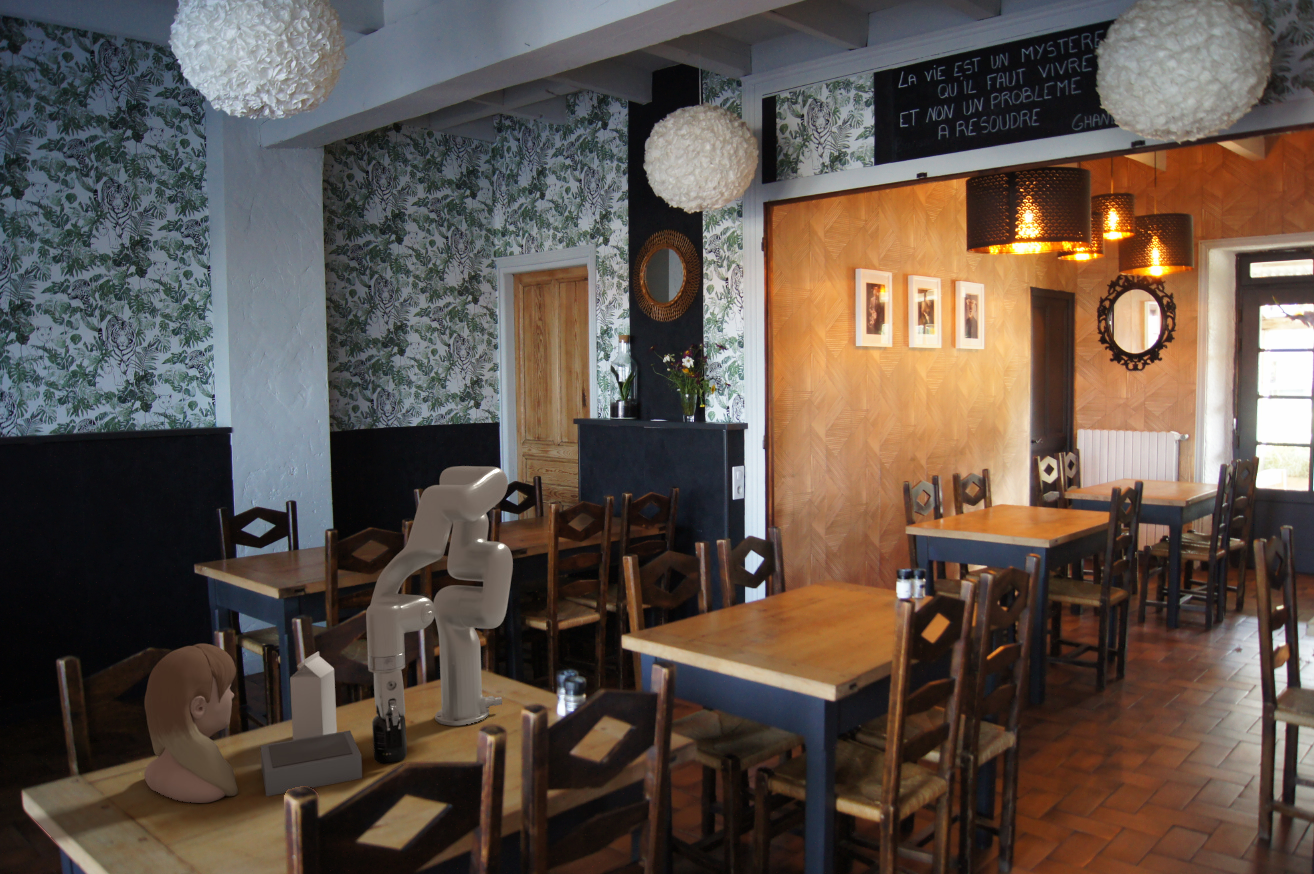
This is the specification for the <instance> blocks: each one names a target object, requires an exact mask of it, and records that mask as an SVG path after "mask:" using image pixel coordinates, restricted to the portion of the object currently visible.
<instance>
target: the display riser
mask: <svg viewBox="0 0 1314 874" xmlns="http://www.w3.org/2000/svg"><path fill="white" fill-rule="evenodd" d="M260 766H261V775H262V779H263V785H264V791H265V796H266V797H271V796H276V795H277V796H278V795H281V794H286V793H285V792H286V791H287V790H288V789H292V788H295V787H300V786H308V787H312V788H318V787H324V786H329V785H333V784H334V785H335V784H339V783H344V782H350V781H354V780H355V781H356V780H360V779H363V763H362V753H361V752H360V748H359V747H358V745H357V742H356V740H355V738H354V736H353V734H352V732H351V730H344V731H337V732H336V733H332V734H326V735H320V736H314V737H308V738H302V739H296V740H293V739H290V740H286V741H279V742H272V743H268V744H263V745H260ZM312 788H311V789H312Z"/></svg>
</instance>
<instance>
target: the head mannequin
mask: <svg viewBox="0 0 1314 874" xmlns="http://www.w3.org/2000/svg"><path fill="white" fill-rule="evenodd" d="M236 674H237V668H236V666H235V661H234V660H233V658H232V656H231V655H230V654H229V653H228V652H227V651H226V650H225V649H223V648H221V647H219V646H216V645H215V644H214V645H213V644H210V643H209V644H208V643H196V644H193V645H186V646H183V647H180V648H177V649H174V650H173V651H170V652H169V653H167V654H166V655H165V656H164V657H162V658H161V659H160V660H159V661H158V662H157V663H156V665H154V667H153V668H152V670H151V671H150V674H149V677H148V681H147V686H146V691H145V695H144V710H145V716H146V721H147V722H146V723H147V727H148V731H149V737H150V740H151V744H152V748H153V752H154V754H155V755H156V756H157V757H156V758H155V759H153V760H151V761H150V762H149V763H148V765H147V766H146V767H145V770H144V775H143V776H144V780H145V782H146V784H147V786H148V787H149V789H151V790H152V791H154V792H155V791H156V792H155V793H157V792H158V793H157V794H159V793H160V794H159V795H161V796H163V795H164V797H166V798H168V797H169V799H171V798H172V799H171V800H174V801H177V800H178V802H182V801H183V803H190V802H191V803H192V804H195V803H196V804H206V803H207V804H208V803H212V802H216V801H218V800H220V799H222V798H224V797H234V796H236V795H237V794H238V792H239V790H238V789H239V788H238V786H237V782H236V776H235V775H236V774H235V771H234V768H233V766H232V765H231V764H230V763H229V762H228V761H227V760H226V759H225V757H224V756H223V754H222V752H221V750H220V748H219V746H218V744H217V743H216V742H215V741H214V740H213V739H211V738H210V737H212V736H213V735H214V734H216V733H217V732H219V731H222V730H225V729H226V728H227V727H228V726H230V722H231V715H232V706H233V705H232V704H233V701H232V700H233V699H234V698H235V694H234V693H233V692H232V690H231V688H232V687H233V685H234V684H233V681H234V679H235V678H236Z"/></svg>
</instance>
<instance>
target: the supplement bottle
mask: <svg viewBox="0 0 1314 874" xmlns="http://www.w3.org/2000/svg"><path fill="white" fill-rule="evenodd" d="M388 704H389V703H388ZM375 708H376V709H375V712H376V716H374V717H373V719H372V721H371V723H372V725H371V727H372V728H371V729H372V744H373V760H374V761H375V762H376V763H377V764H382V765H390V764H395V763H398V762H402V761H403V760H404V759H406V757H407V755H408V747H407V745H408V744H407V726H406V717H405V716H403V717H402V716H400V714H399V718H400V724H401V734H402V747H400V748H395V749H390V750H387V749H386V740H385V730H387V728H386V722H385V719H383V718H381V716H380V713H379V709H378V706H377V704H376V705H375ZM388 715H391V714H388ZM391 720H392V719H391ZM389 723H390V720H389Z"/></svg>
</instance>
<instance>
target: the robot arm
mask: <svg viewBox="0 0 1314 874" xmlns="http://www.w3.org/2000/svg"><path fill="white" fill-rule="evenodd" d="M508 487H509V481H508V477H507V475H506V473H505V471H504V470H503V469H502V468H500V467H496V466H473V465H472V466H471V465H470V466H469V465H466V466H465V465H461V466H450V467H447V468H446V469H444V470H443V471H442V472H441V473H440V476H439V484H434V485H431V486H428V487H427V488H425V489H424V490H423V492H422V494H421V497H420V499H419V503H418V506H417V508H416V509H417V510H416V513H415V515H414V520H413V523H412V526H411V529H410V533H409V537H408V539H407V543H406V545H405V547H404V548H403V549H402V550H401V551H399V553H397V554H396V555H395V556H394V557H393V559H391V560H390V562H389V563H387V565H386V566H385V567H384V569H382V571H381V573H380V574H379V576H378V578H377V581H376V583H375V586H374V590H373V593H372V596H371V597H372V598H371V599H370V600H371V601H370V605H369V606H368V607H367V609H366V612H365V614H366V615H365V617H366V619H365V621H366V638H367V639H366V640H367V641H366V643H367V646H366V647H367V667H368V672H370V673H373V689H374V691H373V693H374V704H375V705H374V706H376V704H377V706H378V709H379V713H380V716H381V718H383V719H385V722H386V728H387V730H385V740H386V749H387V750H390V749H395V748H400V747H402V734H401V724H400V718H399V714H400V716H402V717H403V716H404V717H405V716H406V702H405V690H404V689H405V688H404V681H403V679H404V678H403V673H402V670H403V669H405V668H406V655H405V654H406V652H405V634H406V633H410V632H418V631H421V630H424V629H426V628H428V627H429V626H430V625H431V624H432V622H433V621H434V619H435V622H436V626H437V632H438V643H439V645H438V646H439V667H440V668H439V670H440V671H439V673H440V674H439V676H440V695H441V696H440V697H441V699H440V700H441V709H440V710H438V711H437V712H436V713H435V721H436V722H437V723H439V724H440V725H445V726H456V727H457V726H458V727H459V726H467V725H466V724H468V725H472V724H471V723H473V724H475V723H474V722H477V723H479V722H478V721H480V720H482V719H484V718H486V717H487V716H488V715H489V716H490V710H489V709H490V707H492V706H495V707H496V706H501V705H503V698H502V696H497V697H495V696H494V695H488V696H486V697H485V695H484V694H483V689H482V687H483V685H482V660H481V659H482V658H481V656H482V655H481V641H480V638H479V635H478V633H477V631H476V630H475V629H476V628H477V629H485V630H486V629H489V630H490V629H495V628H498V627H499V626H501V624H502V623H503V622H504V619H505V617H506V614H507V609H508V603H509V597H510V591H511V590H510V589H511V582H512V576H513V570H514V568H513V567H514V566H513V565H514V563H513V561H514V560H513V555H512V552H511V550H510V548H509V546H507V545H506V544H505V543H503V542H500V541H492V540H491V541H490V540H488V535H489V527H490V525H489V524H490V523H489V517H488V515H487V513H488V512H489V511H490V510H491V509H492V508H494V507H495V506H497V505H498V504H499V503H500V502H502V500H503V498H504V497H505V495H506V493H507V490H508ZM451 530H452V532H451ZM450 534H451V536H450ZM449 537H451V538H450V543H449V549H448V555H447V563H446V564H447V573H448V574H449V575H450V577H452V578H454V579H456V580H460V581H461V580H462V581H473V582H474V581H475V582H482V585H483V586H474V585H458V584H457V585H456V584H455V585H452V584H451V585H448V586H445V587H443V588H441V589H440V590H438V592H436V595H435V597H434V599H433V601H432V600H431V599H430V598H429V597H426V596H423V595H417V594H404V593H399V591H400V588H401V586H402V585H403V583H404V582H405V580H406V579H407V578H408V577H410V576H411V575H412V574H413V573H415V572H416V571H418V570H420V569H422V568H424V567H426V566H428V565H430V564H433V563H435V562H437V561H439V560H441V559H442V558H443V557H444V554H445V552H446V547H447V544H448V540H449ZM388 703H389V704H388ZM388 714H391V715H388ZM489 716H488V717H489ZM488 717H487V718H488ZM487 718H486V719H487ZM391 719H392V720H391ZM389 720H390V723H389ZM484 720H485V719H484ZM482 721H483V720H482ZM480 722H481V721H480Z"/></svg>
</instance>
